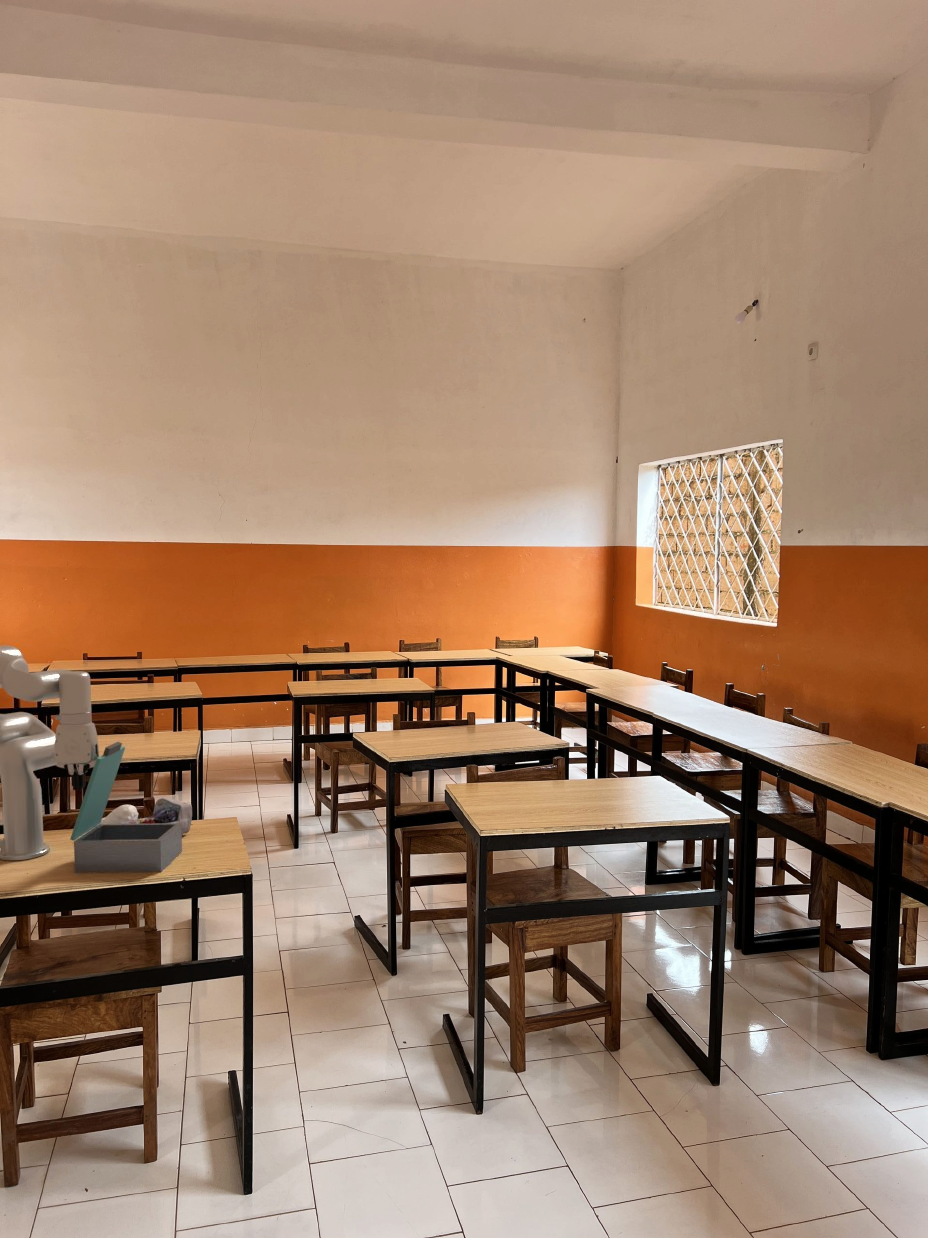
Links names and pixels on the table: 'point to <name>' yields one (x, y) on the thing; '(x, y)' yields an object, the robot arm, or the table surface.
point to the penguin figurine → (121, 815)
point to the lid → (98, 790)
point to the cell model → (168, 814)
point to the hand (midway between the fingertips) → (78, 789)
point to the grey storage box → (128, 848)
